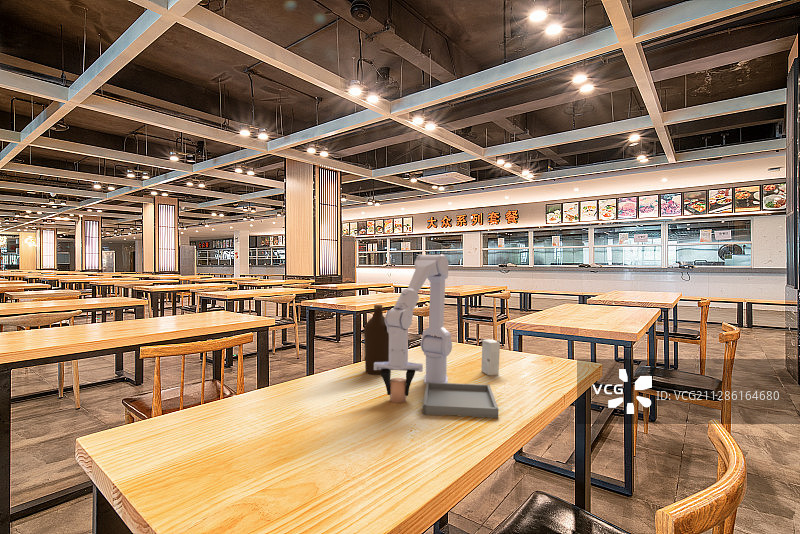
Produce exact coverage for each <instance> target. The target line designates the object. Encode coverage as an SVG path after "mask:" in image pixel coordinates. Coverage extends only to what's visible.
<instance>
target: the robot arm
mask: <svg viewBox="0 0 800 534" xmlns="http://www.w3.org/2000/svg"><path fill="white" fill-rule="evenodd" d="M448 278H449V260H448V258H447V256H446V255H445V254H418V255H417V256H416V259H415V260H414V272H413V274H412V277H411V280H410V281H409V284H408V287H407V288H405V289H403V290H402V291H401V292H400V295H399V297H398V299H397V300H396V303H395V304H394V306H393V307H392V308H391V309H389V310H388V311H387V312H386V314H385V316H384V317H385V324H386V326H387V332H388V333H389V362H375V363H374V370H381V375H380V377H382V378H381V379H382V380H383V382H384V384H385V388H386V394H387V395H388V396H390V380H391V376H392V375H391V373H392V371H405V379H406V397H408V396H409V394H410V393H409V391H410V387H411V383H412V381H413V379H414V377H415V374H416V372H420V373H423V369H424V367H423V366H424V365H423V363H417V362H409V358H408V357H409V329H410V328H411V325H412V324H413V323H412V322H413V316H414V309H415V307H416V305H417V304H418V302H419V300H420V296H419V292H420V291H421V289H422V287H423V285H424V284H425V282H426V281H427V280H428V282H429V283H430V284H429V285H430V286H429V288H430V289H429V310H428V311H429V313H428V316H429V317H428V327H427V328H426V329H424V330H423V331H422V335H421V339H420V349H421V351H422V352H423V355H424V356H425V374H424V381H423V384H426V382H431V383H449V382H448V380H449V379H448V375H447V373H448V372H447V365H448V363H447V359H448V358H447V357H448V356H449V355H450V354H451V352H452V349H453V341H452V333H450V331H449V330H447V329H446V328H445V326H444V325H445V322H444V321H445V298H446V297H445V296H446V279H448Z"/></svg>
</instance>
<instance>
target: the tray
mask: <svg viewBox="0 0 800 534" xmlns="http://www.w3.org/2000/svg"><path fill="white" fill-rule="evenodd" d="M423 396H424V397H423V402H422V404H423V405H422V410H423V411H422V414H424V415H426V416H443V415H460V416H459V417H464V416H472V417H471V418H484V417H487V419H488V418H489V419H499V406H498V404H497V402H496V399H495V396H494V394H493V391H492V388H491V386H490V384H481V383H480V384H478V383H457V382H455V383H453V382H452V383H451V382H450V383H449V382H448V383H431V382H426V383H425V389H424V395H423ZM424 415H423V416H424Z"/></svg>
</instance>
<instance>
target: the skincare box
mask: <svg viewBox="0 0 800 534" xmlns="http://www.w3.org/2000/svg"><path fill="white" fill-rule="evenodd" d="M481 343H482V345H481V347H482V349H481V366H480V367H481V372H482V373H484V374H485V375H488V376H499V373H500V348H501V343H500V342H499V341H497V340H495V339H492V338H490V339H489V338H488V339H482V341H481Z"/></svg>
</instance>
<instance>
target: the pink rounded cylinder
mask: <svg viewBox="0 0 800 534" xmlns="http://www.w3.org/2000/svg"><path fill="white" fill-rule="evenodd" d="M389 401H390V402H391V403H393V404H402V403H406V402H407V396H406V378H405V377H393V378H390V395H389Z"/></svg>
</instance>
